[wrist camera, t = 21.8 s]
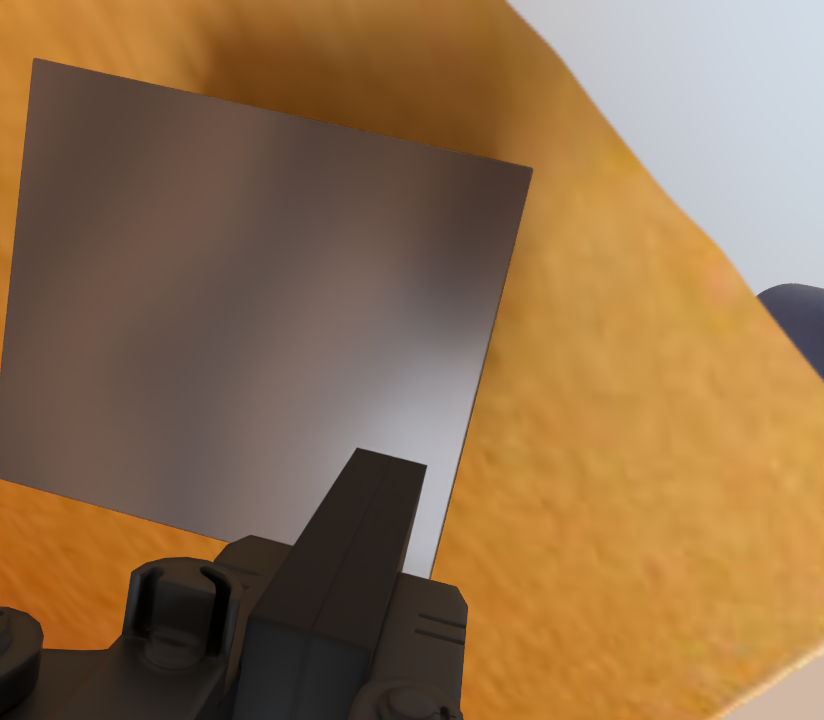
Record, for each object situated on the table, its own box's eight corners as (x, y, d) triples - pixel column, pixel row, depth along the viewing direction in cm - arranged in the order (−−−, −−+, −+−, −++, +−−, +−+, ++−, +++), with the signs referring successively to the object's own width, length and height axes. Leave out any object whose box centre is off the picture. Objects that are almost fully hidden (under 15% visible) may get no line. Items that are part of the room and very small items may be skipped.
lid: (533, 169, 25) (533, 168, 24) (428, 588, 29) (425, 598, 28) (46, 61, 27) (32, 57, 26) (1, 470, 30) (-12, 476, 30)
